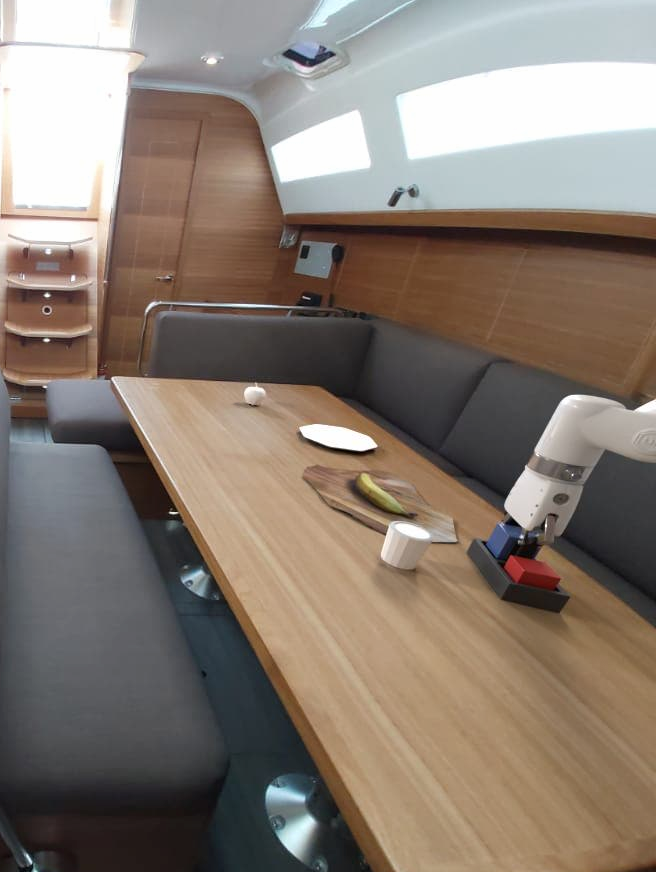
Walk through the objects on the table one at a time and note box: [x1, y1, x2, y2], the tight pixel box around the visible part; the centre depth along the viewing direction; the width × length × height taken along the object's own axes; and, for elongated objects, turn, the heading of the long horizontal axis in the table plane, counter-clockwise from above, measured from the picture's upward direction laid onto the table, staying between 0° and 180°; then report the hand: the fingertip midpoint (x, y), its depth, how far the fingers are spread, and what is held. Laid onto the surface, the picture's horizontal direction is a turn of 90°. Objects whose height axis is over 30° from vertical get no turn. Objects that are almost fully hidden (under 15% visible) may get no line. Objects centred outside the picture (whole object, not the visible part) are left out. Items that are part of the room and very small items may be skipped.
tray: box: [466, 537, 571, 613], centre depth 91 cm, size 8×15×4 cm, turn 158°
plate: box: [298, 423, 379, 453], centre depth 151 cm, size 20×20×2 cm
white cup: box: [380, 521, 434, 571], centre depth 94 cm, size 7×7×7 cm
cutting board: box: [302, 464, 458, 543], centre depth 117 cm, size 35×27×4 cm
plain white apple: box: [243, 382, 267, 406], centre depth 180 cm, size 7×7×8 cm
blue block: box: [486, 522, 543, 560], centre depth 92 cm, size 5×5×5 cm
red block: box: [503, 555, 562, 591], centre depth 87 cm, size 5×5×5 cm
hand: (508, 553), depth 93 cm, fingers closed on blue block, 5 cm apart
